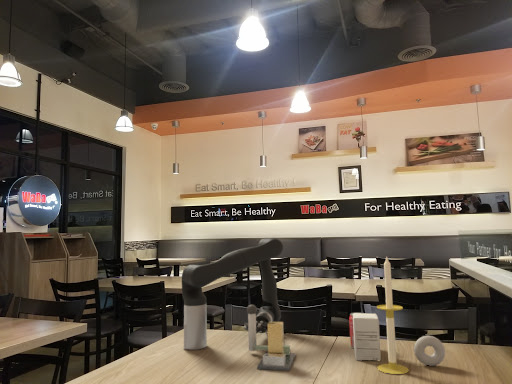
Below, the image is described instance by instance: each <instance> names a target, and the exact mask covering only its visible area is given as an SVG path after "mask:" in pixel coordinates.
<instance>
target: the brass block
mask: <svg viewBox="0 0 512 384" xmlns="http://www.w3.org/2000/svg"><path fill="white" fill-rule="evenodd" d="M284 336H285V334H284V321H278V322H269V323H268V331H267V346H268V350H267V352H268V353H270V354H284V345H285V342H284V341H285V339H284Z"/></svg>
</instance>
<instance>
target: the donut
mask: <svg viewBox="0 0 512 384" xmlns="http://www.w3.org/2000/svg"><path fill="white" fill-rule="evenodd" d="M428 347H432V348H433V350H434V352H433V353H432V354H431V355H429V354H426V352H425V349H426V348H428ZM413 352H414V356H415V357H416V360H418V362H420V363H421V364H423V365H424V366H427V365H429V366H428V367H434V366H437V365H440V364H441V363H442V362H443V361H444V359H445V356H446V349H445V346H444V344H443V342H442V341H441V340H440V339H439V338H437V337H435V336H433V335H422V336H421V337H419V338H418V339H417V340H416V342H415V344H414V345H413Z"/></svg>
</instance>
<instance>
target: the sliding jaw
mask: <svg viewBox="0 0 512 384" xmlns="http://www.w3.org/2000/svg"><path fill="white" fill-rule="evenodd" d="M257 312H258V307H257V305H255V304H248V305H247V307H246V313H247V321H248V322H247V323H248V331H247V332H248V335H247V336H248V351H250V352H255V351H268V345H265V344H264V345H261V344H259V345H258V344H257V334H256V316H257ZM290 353H291V345H289V344H284V354H286V355H290Z"/></svg>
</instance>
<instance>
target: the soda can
mask: <svg viewBox="0 0 512 384" xmlns="http://www.w3.org/2000/svg"><path fill="white" fill-rule="evenodd" d="M353 313H354V312H351V313H350V314H349V318H348V321H349V322H348V323H349V338H350V339H349V341H350V342H349V343H350V346H351V348H352V349H354V333H353Z"/></svg>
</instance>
